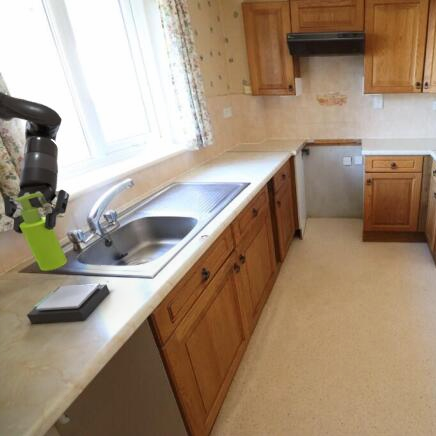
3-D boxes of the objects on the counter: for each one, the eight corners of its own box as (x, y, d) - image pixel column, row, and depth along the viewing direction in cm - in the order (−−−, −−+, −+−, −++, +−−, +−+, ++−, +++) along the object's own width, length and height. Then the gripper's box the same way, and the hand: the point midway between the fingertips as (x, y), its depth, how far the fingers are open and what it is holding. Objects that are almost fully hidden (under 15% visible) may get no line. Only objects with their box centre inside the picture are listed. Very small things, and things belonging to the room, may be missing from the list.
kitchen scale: (29, 323, 86) (23, 311, 84) (61, 295, 97) (56, 284, 95) (84, 320, 86) (78, 308, 85) (109, 292, 97) (105, 281, 96)
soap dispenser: (75, 259, 91) (47, 193, 82) (48, 272, 85) (14, 203, 76) (63, 255, 93) (34, 190, 84) (35, 267, 87) (1, 199, 79)
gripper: (-3, 169, 83) (-11, 230, 78) (61, 163, 86) (57, 221, 81) (18, 182, 90) (12, 239, 84) (77, 176, 93) (74, 231, 88)
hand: (34, 230), depth 83 cm, fingers closed on soap dispenser, 6 cm apart
